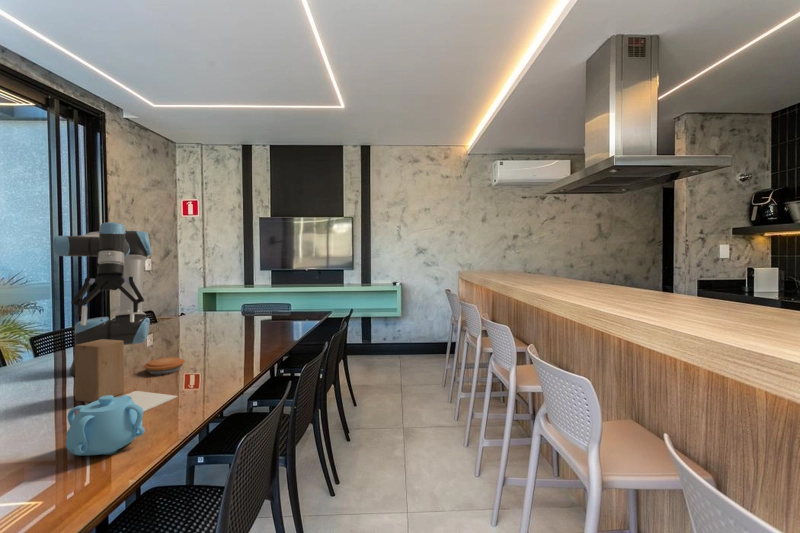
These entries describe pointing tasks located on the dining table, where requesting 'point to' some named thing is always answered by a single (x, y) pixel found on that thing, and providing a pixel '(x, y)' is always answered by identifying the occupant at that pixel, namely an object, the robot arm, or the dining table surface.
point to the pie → (164, 365)
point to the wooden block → (99, 369)
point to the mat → (149, 399)
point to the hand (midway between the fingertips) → (108, 323)
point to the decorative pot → (104, 426)
